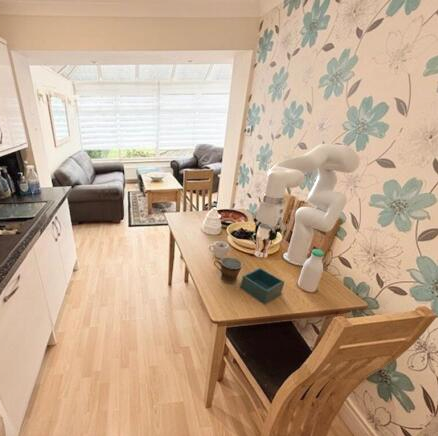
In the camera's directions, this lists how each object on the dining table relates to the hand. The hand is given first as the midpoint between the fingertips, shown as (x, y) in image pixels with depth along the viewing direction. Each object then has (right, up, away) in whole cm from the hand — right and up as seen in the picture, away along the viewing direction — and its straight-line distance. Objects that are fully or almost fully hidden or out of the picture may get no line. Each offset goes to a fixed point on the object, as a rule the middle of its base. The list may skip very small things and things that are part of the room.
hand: (264, 235), depth 109 cm
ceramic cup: (-15, -23, +11) cm, 29 cm away
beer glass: (0, -10, +4) cm, 10 cm away
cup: (-13, -14, +30) cm, 36 cm away
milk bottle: (+22, -25, +5) cm, 34 cm away
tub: (-1, -26, +3) cm, 26 cm away
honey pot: (-8, -1, +61) cm, 61 cm away
